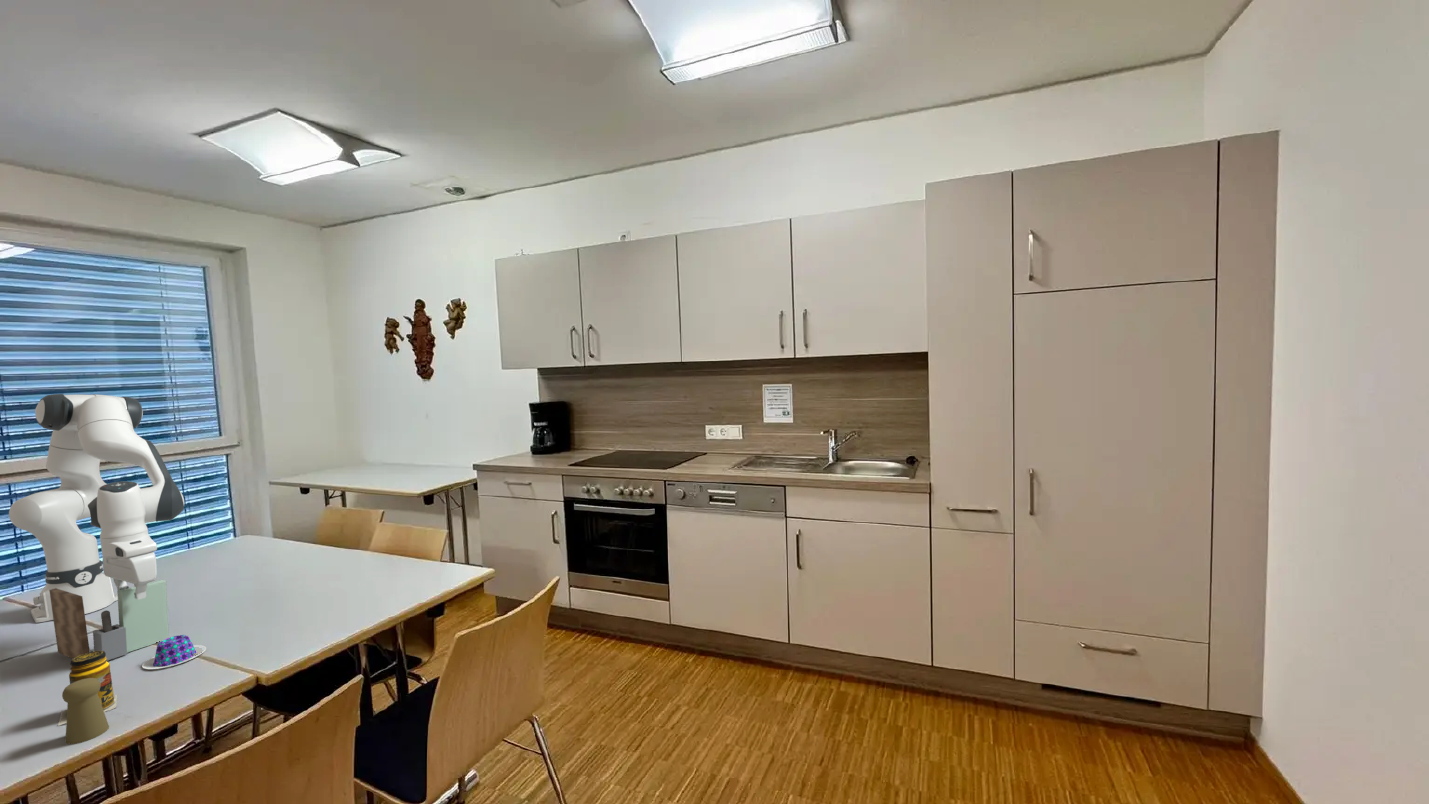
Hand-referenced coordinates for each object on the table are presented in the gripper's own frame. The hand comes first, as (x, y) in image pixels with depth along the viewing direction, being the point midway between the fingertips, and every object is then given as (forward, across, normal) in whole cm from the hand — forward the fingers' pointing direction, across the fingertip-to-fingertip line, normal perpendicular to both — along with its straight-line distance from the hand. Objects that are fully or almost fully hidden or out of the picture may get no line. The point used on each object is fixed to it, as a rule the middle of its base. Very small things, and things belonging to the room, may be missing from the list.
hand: (132, 595), depth 154 cm
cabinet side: (+14, -9, -7) cm, 18 cm away
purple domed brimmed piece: (+15, +17, +1) cm, 23 cm away
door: (+14, 0, -1) cm, 14 cm away
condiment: (+14, +28, -18) cm, 37 cm away
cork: (+14, +40, -22) cm, 48 cm away
